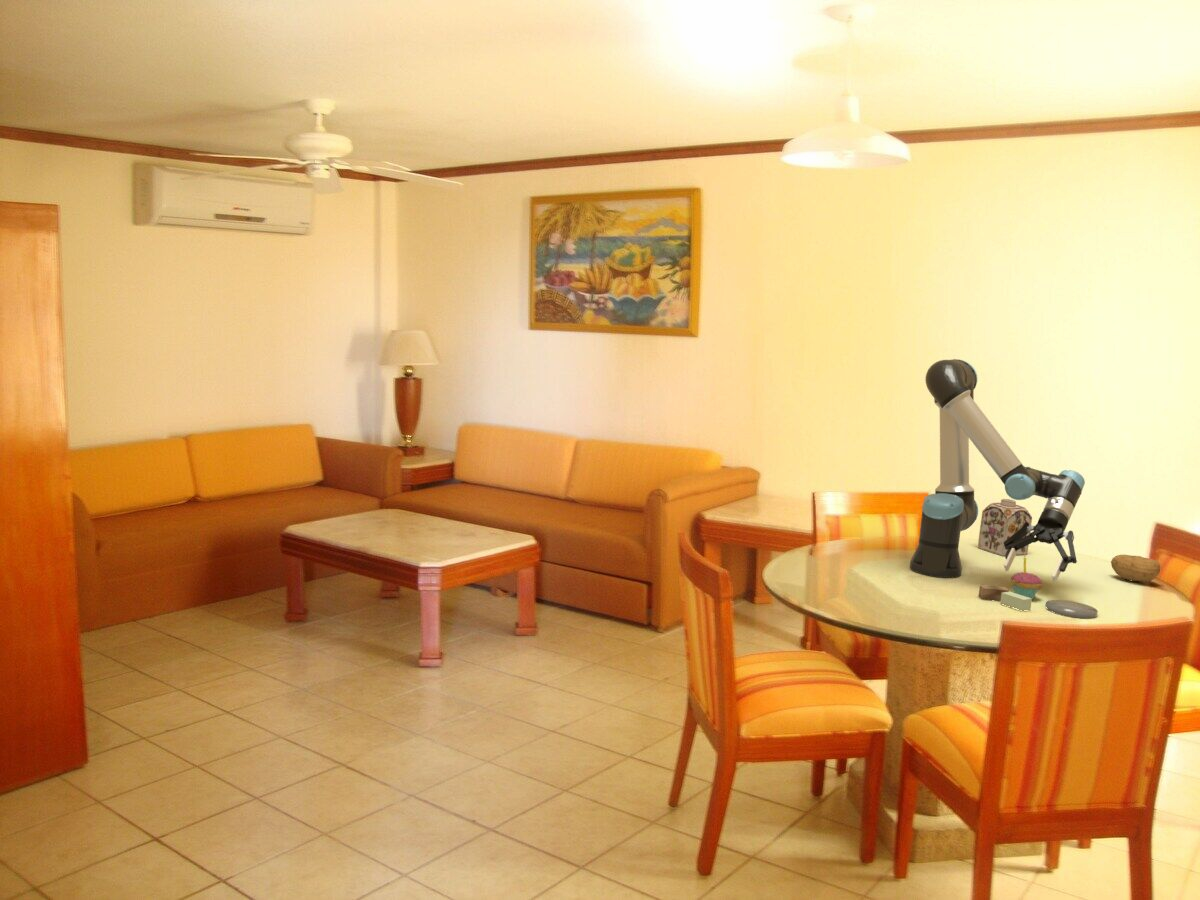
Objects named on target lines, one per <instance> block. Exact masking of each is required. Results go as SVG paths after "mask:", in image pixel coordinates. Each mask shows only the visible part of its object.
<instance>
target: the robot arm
mask: <svg viewBox="0 0 1200 900" xmlns="http://www.w3.org/2000/svg"><path fill="white" fill-rule="evenodd" d="M977 383H978V374H977V371H976V369H975V367H974V366H973V365H972V364H971V363H969V362H967V361H965V360H962V359H956V358H954V359H941V360H938V361H936V362H934V363H933V364H932V365H930V366H929V368H928V370H927V372H926V374H925V386H926V388H927V390H928V392H929V393H930V395H931V396H932V397H933V399H934V400H933V402H934V405H936V407H938V408H939V474H940V475H939V478H940V479H939V481H940V483H939V484H938V486H936V487H935V489H934V490H935V492H934V493H931V494H928V495H927V496H925V497H924V500H923V503H922V507H921V510H922V512H921V519H920V527H919V528H920V529H919V538H918V544H917V547H916V548H915V551H914V552H913V555H912V557H911V559H910V565H909V569H910V570H912V571H913V572H916V573H918V574H922V575H925V576H930V577H936V578H937V577H938V578H948V579H949V578H959V577H961V576H962V572H963V566H962V561H961V556H960V552H959V551H960V550H959V544H960V537H961V532H962V531H965V530H968V529H969V528H970V527H972V526H973V524H974V523H975V522H976V520H977V518H978V516H979V507H978V506H979V505H978V503H977V501H976V500H975V489H974V487H972V486H971V484H970V458H969V457H970V455H969V454H970V448H969V447H970V446H969V444H970V443H969V442H971V443H972V444H973V445H974V447H975V448H976V450H978V452H979V453H980V454H981V455H982V457H983V458H984V460H985V461H986V462H987V464H988V465H989V466H990V467H991V469H992V470H993V472H994V474H996V475H997V477H998V478H999V480H1000V481H1001V482H1002V484H1003V485H1004V490H1005V493H1006V494H1007V496H1009V498H1011V500H1015V501H1023V500H1027V499H1029V498H1031V497H1032V496H1036V497H1041V498H1044V499H1047V501H1046V503H1045V505H1044V508H1043V511H1042V512H1041V514H1040V517H1038V521H1037V523H1036V524H1035V525H1032V524H1031V525H1029V523H1028V522H1026V523H1025V524H1024V525H1023V527H1022V528H1021V529H1020V530H1018V531H1017V532H1016V533H1015V534H1013V535H1012V536H1011V537H1010V538H1008V539H1007V540H1006V541H1004V546H1005V549H1008V550H1007V552H1006V554H1005V556H1004V558H1005V562H1004V564H1003V568H1004V571H1005V572H1009V570H1010V568H1011V567H1012V564H1013V562H1014V560H1015V558H1016V556H1017V555H1016V551H1017V550H1019V549H1021V548H1023V547H1025V546H1027V545H1030V544H1032V543H1037V542H1039V543H1045V544H1049V545H1052V544H1054V546H1055V547H1056V549H1057V551H1058V553H1059V555H1060V557H1059V560H1058V562H1057V564H1056V566H1055V568H1054V569H1053V573H1052V576H1051V578H1052V581H1053V583H1054V582H1055V583H1057V582H1058V580H1059V577H1060V575H1061V573H1065V571H1066V570H1067V567H1068V564H1071V563H1072V564H1077V562H1078V560H1077V555H1076V551H1075V546H1074V540H1075V535H1074V531H1073V530H1069V531H1066V528H1067V526H1068V523H1069V521H1070V519H1071V517H1072V514H1073V512H1074V510H1075V507H1076V505H1077V504H1078V501H1079V500H1080V497H1081V495H1082V492H1083V489H1084V486H1085V484H1086V481H1085V478H1084V477H1083V476H1082V474H1080V473H1079V472H1078V471H1075V470H1071V469H1068V470H1067V469H1064V470H1062V471H1061V472H1059V474H1058V475H1057V474H1053V473H1049V472H1046V471H1042V470H1040V469H1035V468H1033V467H1031V466H1024V464H1023V463H1022V461H1021V460H1020V459H1019V458H1018V456H1017V455H1016V454H1015V452H1014V451H1013V449H1011V447H1010V446H1009V445H1008V443H1007V442H1006V441H1005V439H1004V438H1003V437H1002V435H1001V434H1000V433H999V431H998V429H996V428H995V426H994V425H993V424H992V422H991V421H990V420H989V419H988V417H987V416H986V414H985V413H984V412H983V410H981V408H980V406H978V404H977V402H976V401H975V400H974V395H975V394H974V392H975V391H974V390H975V389H976V387H977ZM969 440H970V441H969ZM1028 533H1030V534H1029V535H1028V536H1026V535H1027V534H1028ZM1024 536H1026V537H1024ZM1023 537H1024V538H1023ZM1064 537H1065V540H1066V541H1067V545H1068V549H1069V555H1068V554H1067V552H1066V551H1065V549H1064V547H1063V545H1062V543H1061V541H1060V540H1061V539H1062V538H1064Z"/></svg>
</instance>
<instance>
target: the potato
mask: <svg viewBox="0 0 1200 900" xmlns="http://www.w3.org/2000/svg"><path fill="white" fill-rule="evenodd" d="M1110 565H1111V568H1112V570H1113V571H1114V572H1115V574H1116V575H1117V576H1119V577H1121V579H1124V580H1126V579H1128V580H1127V581H1129V580H1132V581H1139V582H1138V583H1149V582H1151V581H1153V580H1155V579H1156V578H1157V577H1158V576H1159V575H1160V572H1161V569H1162V568H1161V564H1160V562H1159V561H1157V560H1155V559H1153V558H1148V557H1144V556H1140V555H1131V554H1118V555H1115V556H1114V557H1112V559H1111V561H1110ZM1132 581H1131V582H1132Z"/></svg>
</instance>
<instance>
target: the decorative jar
mask: <svg viewBox="0 0 1200 900" xmlns="http://www.w3.org/2000/svg"><path fill="white" fill-rule="evenodd" d="M1032 521H1033V517H1032V515H1031V513H1030V512H1029V511H1028V510H1027V508H1026V507H1024V506H1021V505H1019V504H1017V500H1015V499H1012V498H1011V499H1010V498H1001V499H1000V502H991V503H989V504H988V505H987V506H986V507H985V508H984V509H983V510H982V513H981V518H980V527H979V533H978V544H977V549H980V550H982V551H986V552H988V553H991V554H995V555H998V556H1001V557H1005V554H1006V552H1007V550H1008V549H1005V546H1004V541H1006V540H1007V539H1008V538H1010V537H1011V536H1012V535H1013V534H1015V533H1016V532H1017V531H1018V530H1020V529H1021V528H1022V527H1023V525H1024V524H1025V523H1026V522H1028V523H1029V525H1032ZM1030 533H1031V532H1030ZM1030 533H1028V534H1027V535H1026V536H1028V535H1029V534H1030ZM1026 536H1024V537H1026ZM1024 537H1023V538H1024ZM1029 545H1030V544H1029ZM1029 545H1027V546H1025V547H1023V548H1021V549H1019V550H1017V551H1016V556H1024V555H1025V556H1027V555H1028V551H1029Z"/></svg>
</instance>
